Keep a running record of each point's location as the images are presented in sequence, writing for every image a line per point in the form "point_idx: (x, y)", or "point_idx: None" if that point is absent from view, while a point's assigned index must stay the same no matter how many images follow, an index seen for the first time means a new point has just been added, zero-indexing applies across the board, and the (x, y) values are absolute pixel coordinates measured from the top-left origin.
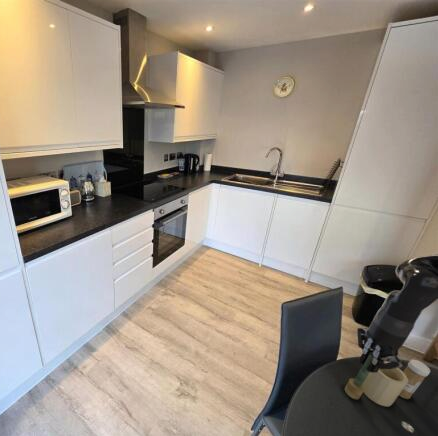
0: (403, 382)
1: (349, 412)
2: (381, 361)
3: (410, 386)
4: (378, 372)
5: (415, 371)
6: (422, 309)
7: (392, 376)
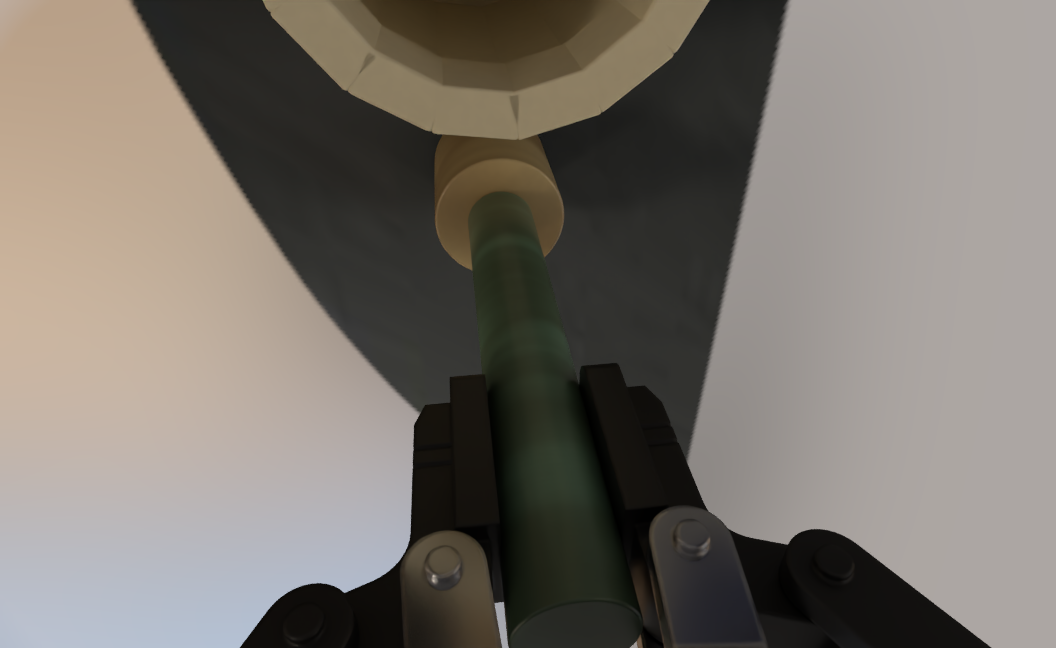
0: None
1: (620, 266)
2: (708, 599)
3: None
4: (519, 134)
5: None
6: None
7: None
